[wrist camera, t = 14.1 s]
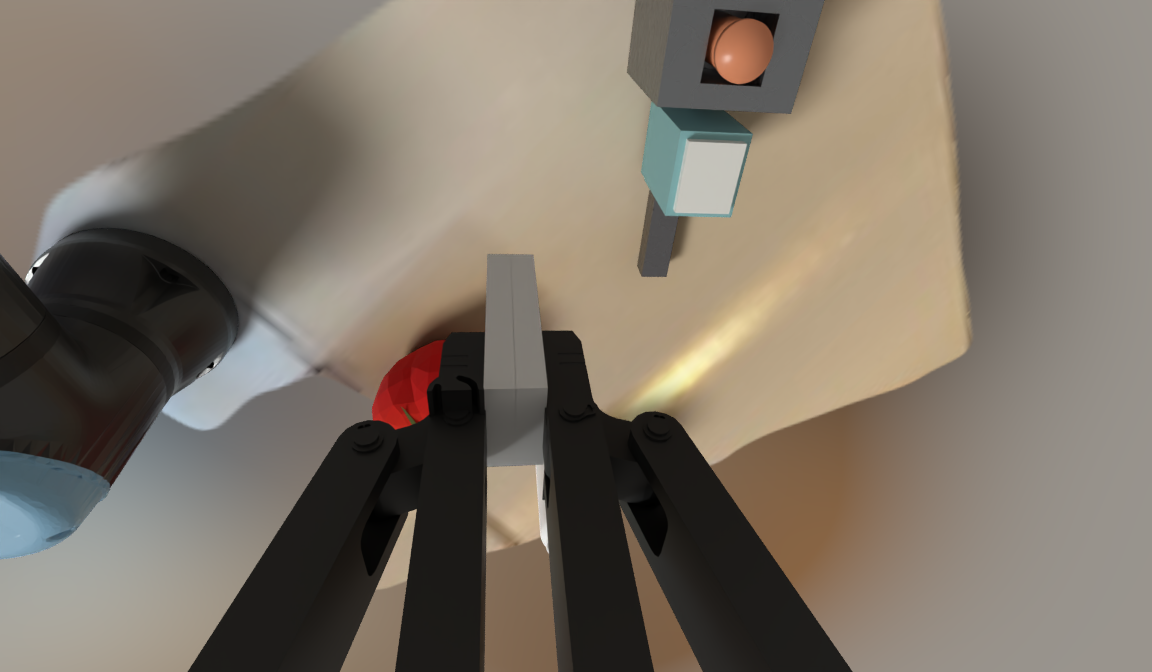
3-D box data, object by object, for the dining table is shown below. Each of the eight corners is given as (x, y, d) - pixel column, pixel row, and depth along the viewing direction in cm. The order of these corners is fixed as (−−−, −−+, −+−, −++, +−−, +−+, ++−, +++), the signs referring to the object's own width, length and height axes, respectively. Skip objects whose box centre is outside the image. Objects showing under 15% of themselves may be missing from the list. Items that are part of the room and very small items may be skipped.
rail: (637, 265, 53) (641, 276, 51) (668, 75, 43) (674, 80, 41) (661, 266, 53) (666, 276, 52) (697, 76, 43) (705, 82, 42)
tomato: (500, 329, 56) (501, 399, 47) (482, 418, 63) (479, 492, 55) (385, 314, 53) (364, 385, 45) (379, 409, 60) (361, 485, 52)
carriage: (639, 171, 47) (667, 219, 39) (651, 97, 43) (683, 133, 36) (696, 173, 47) (733, 220, 40) (711, 100, 44) (756, 136, 36)
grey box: (627, 72, 42) (656, 106, 34) (640, -37, 38) (677, -27, 30) (742, 79, 44) (796, 113, 36) (767, -26, 40) (834, -13, 32)
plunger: (685, 63, 37) (711, 82, 33) (695, 5, 35) (724, 17, 31) (733, 66, 38) (764, 85, 33) (745, 9, 36) (780, 21, 31)
